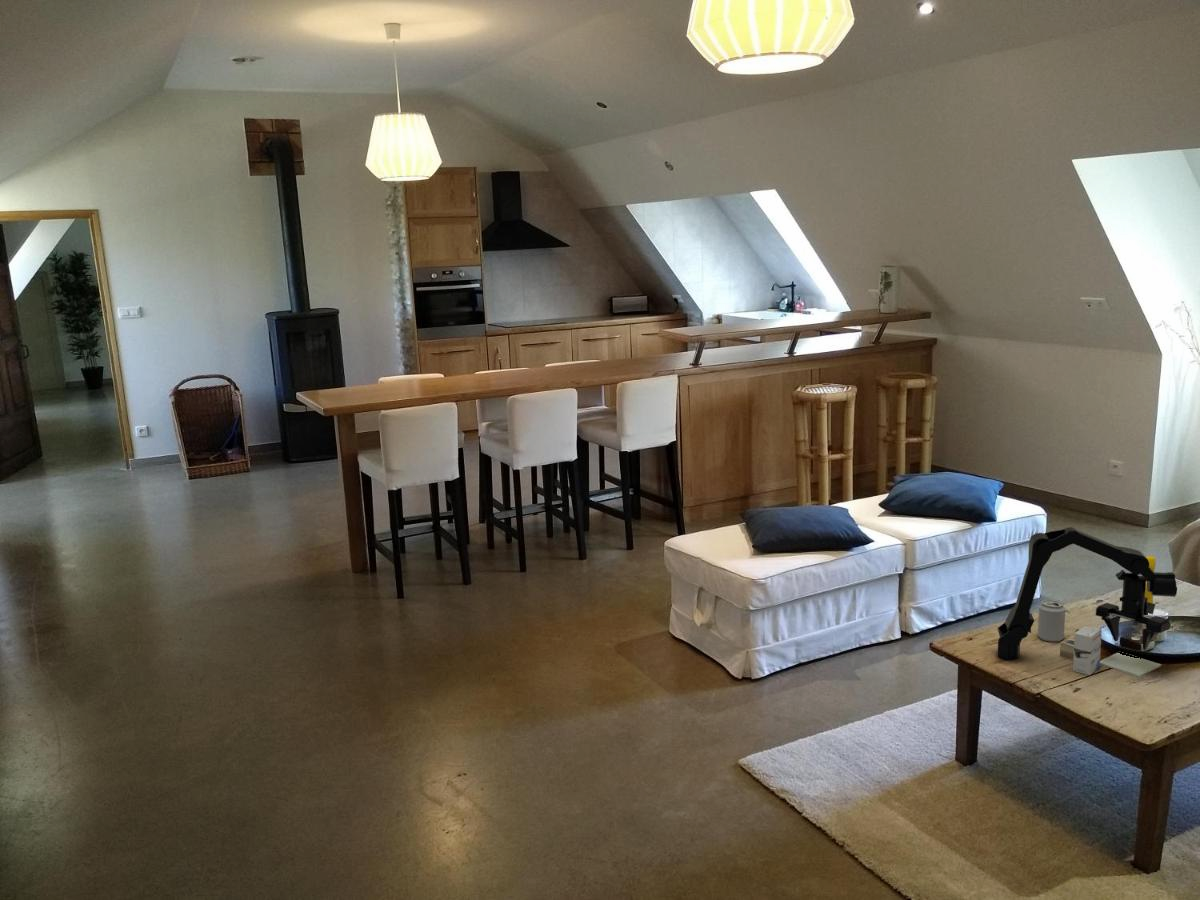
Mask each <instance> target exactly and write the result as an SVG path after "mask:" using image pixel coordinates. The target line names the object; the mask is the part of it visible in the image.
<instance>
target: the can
mask: <svg viewBox="0 0 1200 900" xmlns="http://www.w3.org/2000/svg"><path fill="white" fill-rule="evenodd" d="M1065 623H1066V607H1065V606H1064V603H1063V602H1062V601H1059V600H1055V599H1044V600H1041V603H1040V604H1039V606H1038V624H1037V636H1038V637H1039V638H1040V639H1041V640H1043V641H1045V642H1049V643H1057V642H1062V641H1063V639H1064V638H1065V625H1066V624H1065Z"/></svg>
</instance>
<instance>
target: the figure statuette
mask: <svg viewBox="0 0 1200 900" xmlns="http://www.w3.org/2000/svg"><path fill="white" fill-rule="evenodd" d="M1145 557H1146V558H1147V559H1148V561H1149V568H1151V569H1152V571H1153V572H1155V569H1156V558H1155V556H1152V555H1145ZM1145 597H1147V599H1148V601H1147V602H1149V603H1153V604H1154V596H1153V595H1152V594H1151V592H1148V591H1147V581H1146V590H1145Z"/></svg>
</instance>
